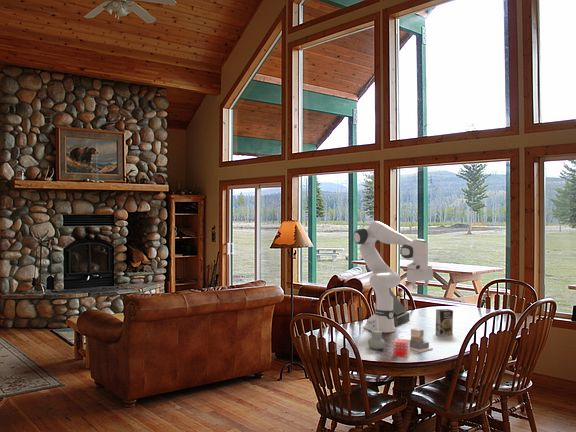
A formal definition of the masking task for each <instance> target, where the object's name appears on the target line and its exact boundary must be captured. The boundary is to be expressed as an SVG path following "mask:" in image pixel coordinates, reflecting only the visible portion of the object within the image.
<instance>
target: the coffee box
mask: <svg viewBox="0 0 576 432" xmlns="http://www.w3.org/2000/svg"><path fill="white" fill-rule="evenodd" d="M453 325H454V310H453V309H449V308H443V309H442V308H440V309H437V308H436V309H435V334H436V335H438V336H441V337H442V336H446V337H447V336H453V335H454V334H453V329H454V328H453V327H454V326H453Z"/></svg>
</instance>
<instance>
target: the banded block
mask: <svg viewBox="0 0 576 432" xmlns="http://www.w3.org/2000/svg"><path fill="white" fill-rule="evenodd" d="M424 332H425V331H424V329H421V328H418V327H417V328H416V327H413V328H411V329H410V340H411V341H412V342H415V343H423V341H424V337H425V336H424Z"/></svg>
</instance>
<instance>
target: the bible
mask: <svg viewBox="0 0 576 432" xmlns="http://www.w3.org/2000/svg"><path fill="white" fill-rule="evenodd" d="M389 293H390V295H391V296H392V297H393V310H394V315H393V317H394V326H395V327H396V326H397V327H399V326H401V325H403V324H406V323H407V322H409V321H410V312H408V311H407V309H406V308H405V307H404V305H403V304H402V302H401V301H400V300H399V299H398V297H397V296H396V295H395V293H394V292H393V290H392V288H389ZM373 315H374V313H372V315H371V316H373Z"/></svg>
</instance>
